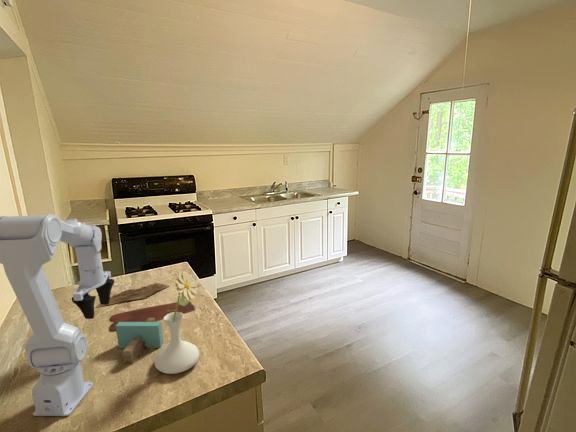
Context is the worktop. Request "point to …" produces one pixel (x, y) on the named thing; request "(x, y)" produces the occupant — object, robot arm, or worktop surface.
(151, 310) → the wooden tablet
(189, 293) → the flower in vase
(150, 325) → the teal arch block
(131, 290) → the wooden fragment
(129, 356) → the brown wooden bar
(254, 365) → the worktop surface
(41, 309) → the robot arm
